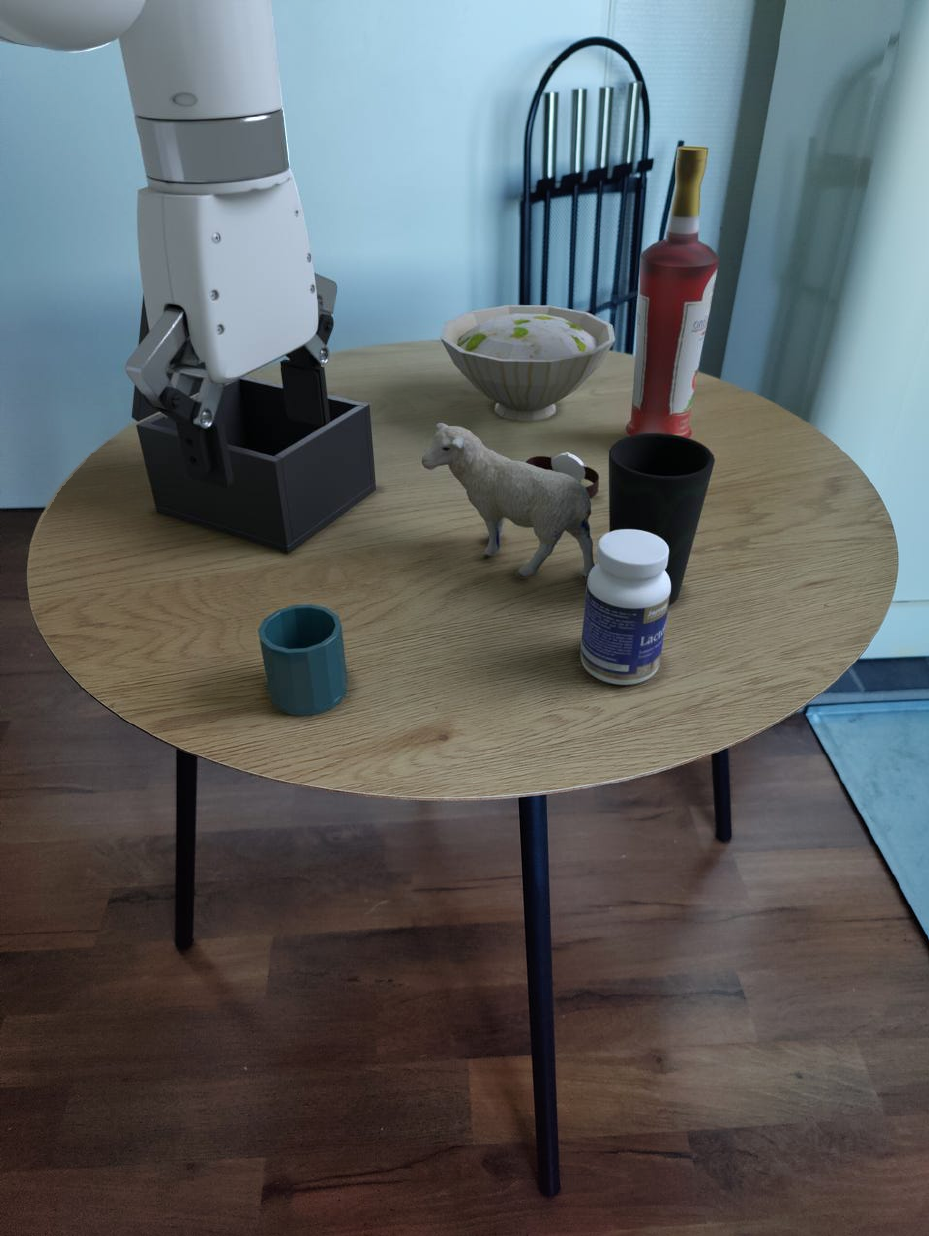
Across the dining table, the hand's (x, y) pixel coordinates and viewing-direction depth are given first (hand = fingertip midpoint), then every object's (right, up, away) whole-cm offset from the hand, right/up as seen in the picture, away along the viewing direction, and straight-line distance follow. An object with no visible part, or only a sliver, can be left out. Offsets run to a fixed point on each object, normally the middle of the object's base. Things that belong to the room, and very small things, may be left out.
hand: (262, 450), depth 58 cm
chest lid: (-10, +15, +21) cm, 28 cm away
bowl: (+20, +13, +46) cm, 52 cm away
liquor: (+33, +8, +39) cm, 52 cm away
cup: (+27, -9, +16) cm, 33 cm away
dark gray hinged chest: (-6, 0, +29) cm, 29 cm away
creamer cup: (+2, -16, +6) cm, 17 cm away
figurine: (+16, -6, +20) cm, 26 cm away
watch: (+22, +1, +30) cm, 37 cm away
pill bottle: (+24, -14, +8) cm, 29 cm away
